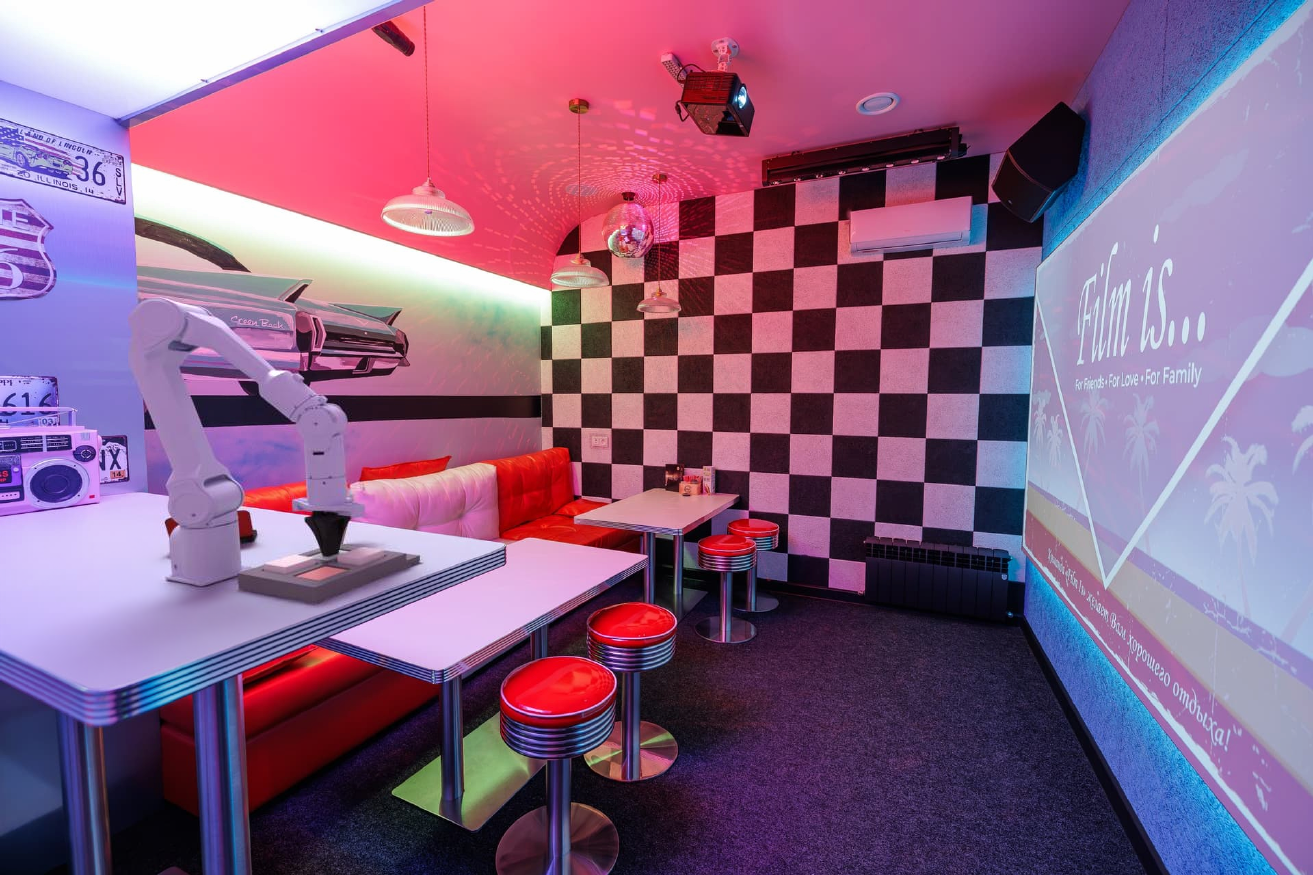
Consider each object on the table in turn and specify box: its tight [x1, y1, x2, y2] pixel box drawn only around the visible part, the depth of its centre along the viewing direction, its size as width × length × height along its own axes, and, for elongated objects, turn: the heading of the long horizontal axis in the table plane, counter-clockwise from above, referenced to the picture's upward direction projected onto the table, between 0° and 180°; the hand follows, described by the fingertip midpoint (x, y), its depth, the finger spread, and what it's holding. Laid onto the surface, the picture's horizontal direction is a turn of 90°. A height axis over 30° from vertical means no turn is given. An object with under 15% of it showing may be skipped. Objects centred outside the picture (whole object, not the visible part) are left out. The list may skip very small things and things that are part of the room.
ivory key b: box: [337, 546, 385, 566], centre depth 89 cm, size 5×5×1 cm
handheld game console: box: [164, 509, 258, 544], centre depth 105 cm, size 12×11×7 cm
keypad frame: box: [237, 543, 421, 605], centre depth 88 cm, size 17×20×2 cm
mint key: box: [310, 550, 349, 561], centre depth 91 cm, size 5×5×1 cm
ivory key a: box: [263, 554, 315, 575], centre depth 85 cm, size 5×5×1 cm
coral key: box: [296, 566, 346, 581], centre depth 82 cm, size 5×5×1 cm
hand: (330, 554), depth 91 cm, fingers closed, pressing on mint key
